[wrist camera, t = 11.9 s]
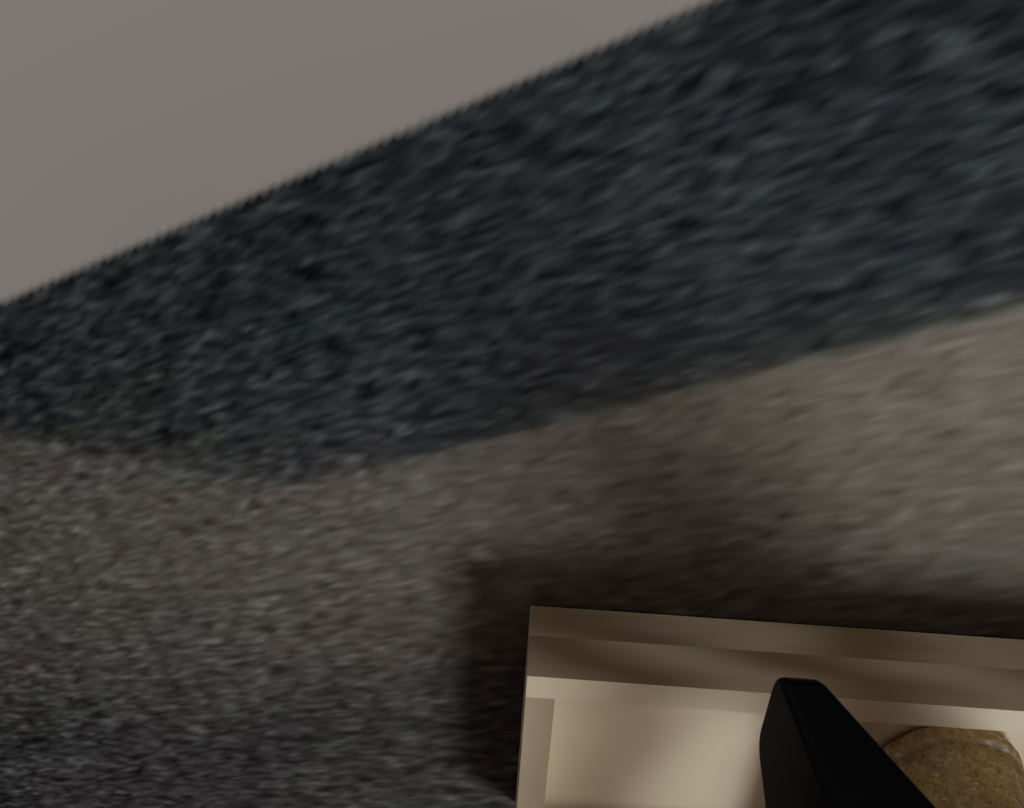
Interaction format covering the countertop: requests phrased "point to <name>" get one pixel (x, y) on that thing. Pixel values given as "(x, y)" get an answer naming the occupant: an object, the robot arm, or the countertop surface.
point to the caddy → (727, 700)
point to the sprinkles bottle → (961, 767)
